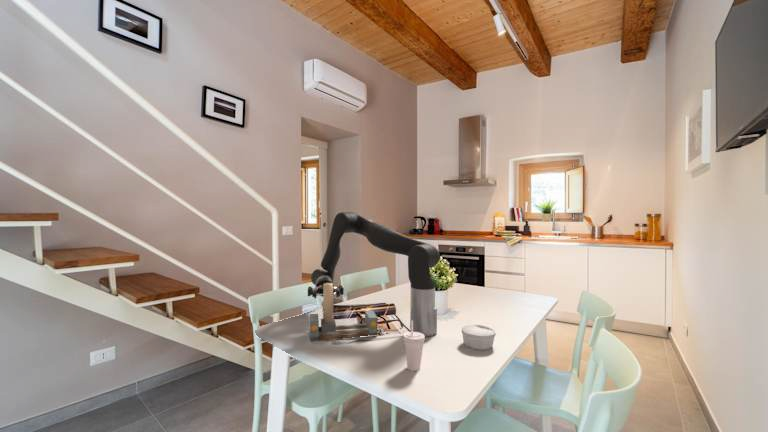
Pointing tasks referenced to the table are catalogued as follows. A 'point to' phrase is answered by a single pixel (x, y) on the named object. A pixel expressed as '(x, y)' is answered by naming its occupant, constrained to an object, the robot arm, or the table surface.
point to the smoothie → (413, 348)
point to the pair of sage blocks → (369, 321)
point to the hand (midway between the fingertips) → (326, 295)
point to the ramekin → (478, 337)
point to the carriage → (328, 309)
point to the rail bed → (344, 332)
